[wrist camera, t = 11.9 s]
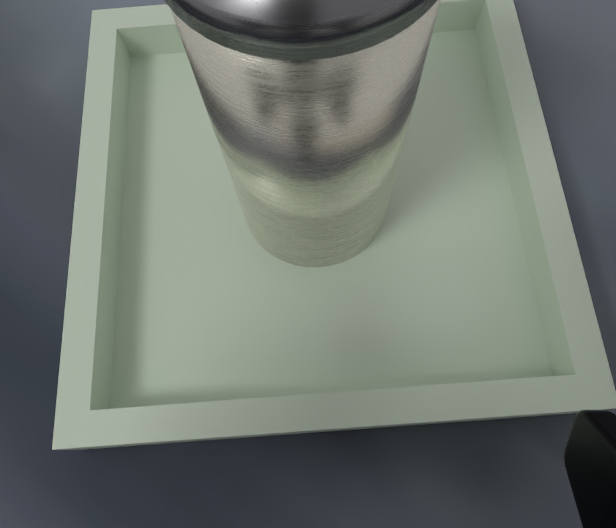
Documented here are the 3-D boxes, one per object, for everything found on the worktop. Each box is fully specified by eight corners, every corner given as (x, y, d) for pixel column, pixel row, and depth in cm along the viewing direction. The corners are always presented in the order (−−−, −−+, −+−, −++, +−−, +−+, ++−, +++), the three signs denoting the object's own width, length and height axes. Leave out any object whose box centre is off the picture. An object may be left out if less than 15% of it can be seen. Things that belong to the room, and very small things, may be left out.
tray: (586, 412, 16) (620, 408, 15) (83, 449, 17) (52, 449, 15) (491, 17, 22) (507, -23, 20) (112, 48, 22) (92, 10, 20)
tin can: (421, 193, 19) (540, -127, 8) (319, 301, 17) (310, 85, 7) (310, 109, 20) (293, -256, 10) (209, 204, 19) (65, -97, 8)
